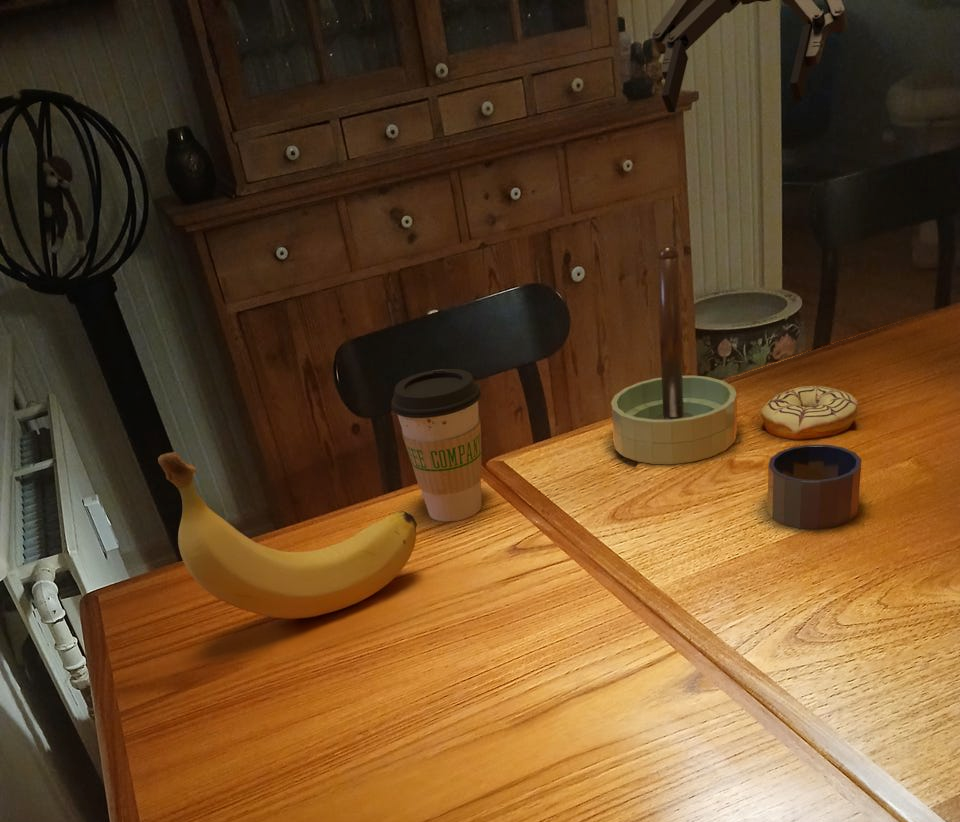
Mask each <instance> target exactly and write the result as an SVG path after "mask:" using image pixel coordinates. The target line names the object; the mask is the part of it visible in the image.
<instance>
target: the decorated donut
mask: <svg viewBox="0 0 960 822" xmlns="http://www.w3.org/2000/svg"><path fill="white" fill-rule="evenodd" d="M760 416H761V418H762V420H763V425H764V428H765V429H766V431H767V432H768V433H769V434H770V435H772V436H775V437H778V438H783V439H789V440H810V439H820V438H825V437H830V436H831V437H832V436H836V435H838V434H841V433H842V432H846V431H847V430H849V428H851V426H852V425H853V423H854V422H855V419H856V418H857V416H858V400H857V399H856V398H855V397H854V396H853V394H850V393H849V392H846V391H843V390H841V389H838V388H834V387H829V386H823V385H805V386H799V387H793V388H791V389H788V390H786V391H783V392H780V393H778V394H776V395H775V396H774V397H772V398H771V399H769V400H768V402H766V404H764V405H763V407H762V409H761V410H760Z"/></svg>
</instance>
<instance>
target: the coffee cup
mask: <svg viewBox="0 0 960 822" xmlns="http://www.w3.org/2000/svg"><path fill="white" fill-rule="evenodd" d="M481 398H482V390H481V387H480V385H479V384H478V383H477V382H475V379H474V376H473V374H472V373H470V372H469V371H467V370H463V369H457V368H442V369H441V368H440V369H432V370H426V371H423V372H419V373H416V374H412V375H410V376H408V377H406V378H404V379H402V380H401V381H399V382H398V383H397V384H396V385H395V386H394V390H393V397H392V399H391V407H390V409H391V411H392V412H393V413H394V414H395V415H397V418H398V422H399V424H400V427H401V435H402V439H403V442H404V444H405V447H406V451H407V453H408V457H409V460H410V462H411V466H412V470H413V472H414V476H415V478H416V481H417V485H418V488H419V489H420V491H421V494H422V497H423V500H424V503H425V507H426V510H427V512H428V515H429V517H430V518H431V519H433V520H435V521H439V522H446V523H447V522H458V521H463V520H465V519H469V518H471V517H473V516H475V515H477V513H479V512H480V510H481V509H482V505H483V504H482V503H483V501H482V478H483V463H482V431H481V430H482V428H481V418H480V416H479V400H480V399H481Z"/></svg>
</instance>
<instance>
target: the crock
mask: <svg viewBox="0 0 960 822" xmlns="http://www.w3.org/2000/svg"><path fill="white" fill-rule="evenodd" d="M862 462H863V460H862V458H861V457H860V456H859V454H857V453H856V452H855V451H853V450H850V449H847V448H845V447H842V446H837V445H831V444H803V445H797V446H791V447H788V448H785V449H784V450H780V451H778V452H777V453H776V454H774V455H773V456H771V457H770V459H769V462H768V468H767V469H768V470H767V511H766V512H767V514H768V515H769V517H770V518H771V519H772V521H774V522H776V523H778V524H780V525H782V526H784V527H787V528H792V529H796V530H805V531H806V530H808V531H809V530H810V531H820V530H821V531H822V530H827V529H828V530H829V529H833V528H838V527H840V526H843V525H846V524H847V523H850V522H851V521H852V520H853V519H855V517H856V516H858V511H859V501H860V500H859V499H860V486H861V485H860V484H861V476H862V475H861V473H862Z"/></svg>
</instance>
